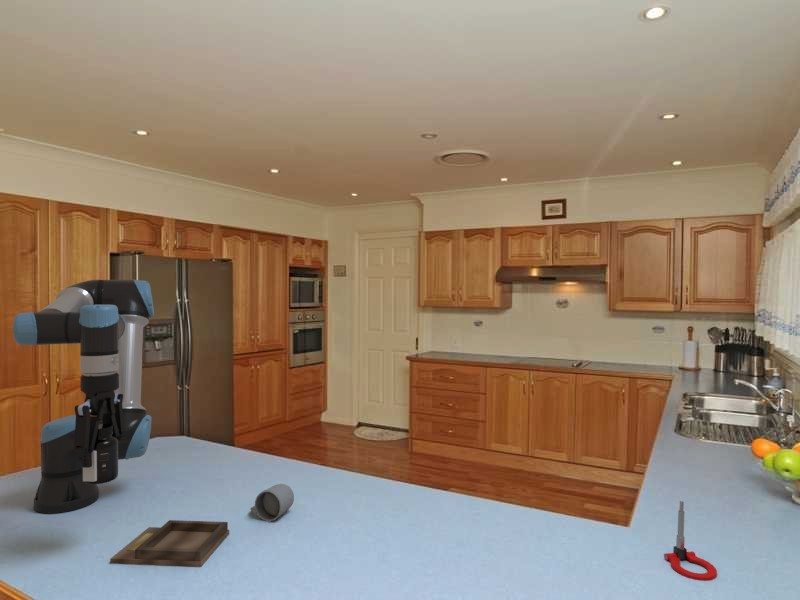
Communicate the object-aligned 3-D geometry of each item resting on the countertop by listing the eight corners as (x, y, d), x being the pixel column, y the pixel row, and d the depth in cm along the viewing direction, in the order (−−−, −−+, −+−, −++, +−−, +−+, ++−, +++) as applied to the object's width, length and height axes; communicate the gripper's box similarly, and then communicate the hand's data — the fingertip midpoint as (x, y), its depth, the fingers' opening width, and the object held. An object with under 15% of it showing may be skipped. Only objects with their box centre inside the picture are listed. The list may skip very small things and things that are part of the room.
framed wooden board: (110, 563, 112) (110, 549, 112) (149, 531, 127) (148, 518, 127) (201, 566, 110) (201, 552, 110) (229, 534, 125) (229, 521, 125)
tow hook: (726, 581, 106) (695, 556, 115) (729, 519, 105) (697, 499, 114) (688, 584, 105) (659, 559, 114) (690, 522, 104) (661, 501, 113)
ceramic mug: (296, 510, 139) (295, 481, 139) (280, 523, 131) (280, 492, 131) (261, 506, 142) (260, 478, 142) (243, 518, 134) (243, 489, 134)
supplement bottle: (82, 487, 113) (81, 432, 113) (84, 476, 120) (84, 424, 119) (118, 481, 117) (117, 428, 116) (118, 472, 123) (118, 421, 122)
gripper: (86, 381, 107) (87, 492, 108) (140, 366, 127) (141, 460, 128) (51, 380, 108) (53, 491, 108) (111, 366, 128) (112, 460, 128)
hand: (100, 474), depth 118 cm, fingers closed on supplement bottle, 7 cm apart
